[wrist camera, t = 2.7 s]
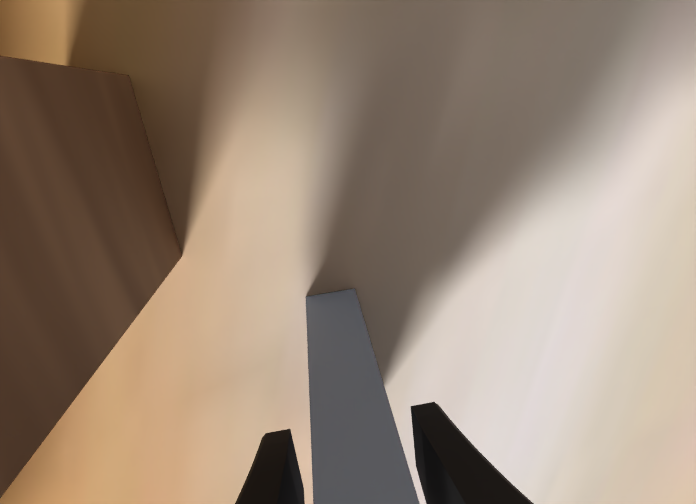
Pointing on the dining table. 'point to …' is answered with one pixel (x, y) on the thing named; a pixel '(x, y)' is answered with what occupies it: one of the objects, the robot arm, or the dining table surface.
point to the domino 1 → (69, 239)
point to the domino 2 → (350, 410)
